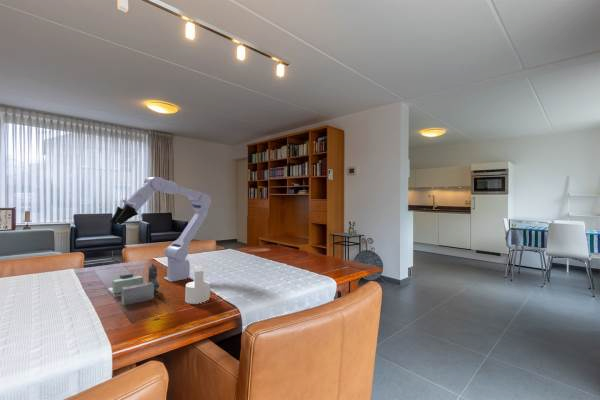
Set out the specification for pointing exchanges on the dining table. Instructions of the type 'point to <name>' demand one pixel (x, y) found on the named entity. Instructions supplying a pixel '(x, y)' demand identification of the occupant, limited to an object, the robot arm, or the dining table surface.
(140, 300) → the plate
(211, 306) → the dining table surface
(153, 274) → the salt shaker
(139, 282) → the vise jaw
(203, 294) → the cylinder with rectangular tab
